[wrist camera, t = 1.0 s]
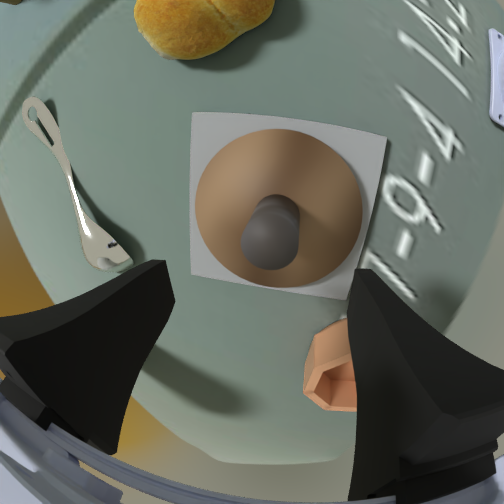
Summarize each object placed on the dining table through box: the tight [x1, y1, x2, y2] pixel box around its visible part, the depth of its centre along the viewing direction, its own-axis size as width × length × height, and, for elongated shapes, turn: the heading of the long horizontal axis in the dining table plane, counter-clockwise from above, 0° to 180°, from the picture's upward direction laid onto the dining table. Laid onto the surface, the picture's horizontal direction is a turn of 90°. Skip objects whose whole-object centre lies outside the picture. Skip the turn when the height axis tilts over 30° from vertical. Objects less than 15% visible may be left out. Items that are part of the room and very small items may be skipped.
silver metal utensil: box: [22, 96, 134, 272], centre depth 18 cm, size 20×4×5 cm
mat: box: [190, 112, 387, 300], centre depth 17 cm, size 12×12×1 cm
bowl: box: [303, 318, 357, 412], centre depth 21 cm, size 9×9×4 cm
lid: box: [195, 129, 363, 288], centre depth 15 cm, size 11×11×5 cm
